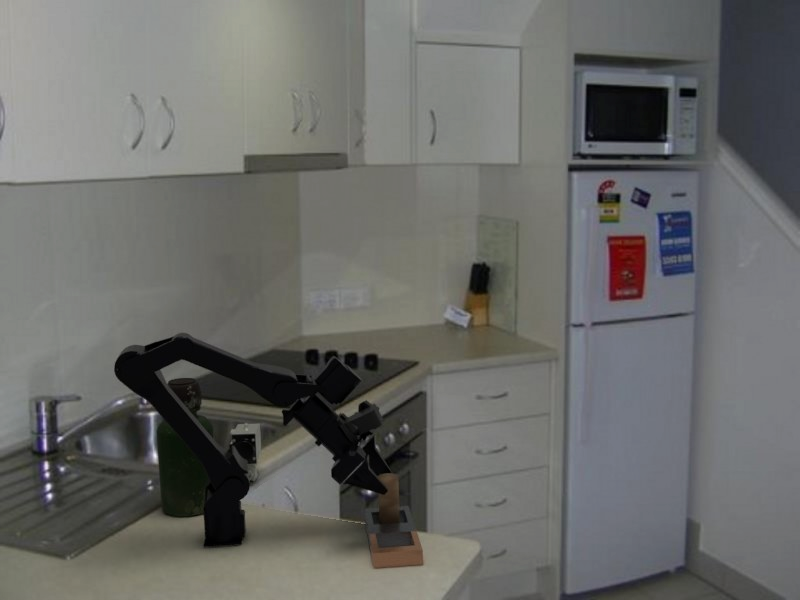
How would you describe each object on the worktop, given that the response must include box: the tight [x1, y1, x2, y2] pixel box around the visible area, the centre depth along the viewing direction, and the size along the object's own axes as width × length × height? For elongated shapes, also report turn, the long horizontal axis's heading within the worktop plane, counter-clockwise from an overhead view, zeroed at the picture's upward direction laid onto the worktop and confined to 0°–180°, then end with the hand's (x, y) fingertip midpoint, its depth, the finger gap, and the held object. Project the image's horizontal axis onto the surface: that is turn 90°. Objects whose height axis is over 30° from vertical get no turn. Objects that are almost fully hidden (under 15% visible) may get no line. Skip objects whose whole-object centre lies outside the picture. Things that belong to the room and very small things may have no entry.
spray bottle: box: [156, 377, 215, 517], centre depth 174 cm, size 10×10×25 cm
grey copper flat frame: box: [364, 505, 424, 569], centre depth 157 cm, size 8×20×2 cm, turn 6°
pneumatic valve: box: [229, 422, 262, 482], centre depth 191 cm, size 6×12×12 cm, turn 2°
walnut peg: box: [377, 472, 400, 524], centre depth 161 cm, size 4×4×10 cm
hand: (388, 483), depth 161 cm, fingers open, 9 cm apart
